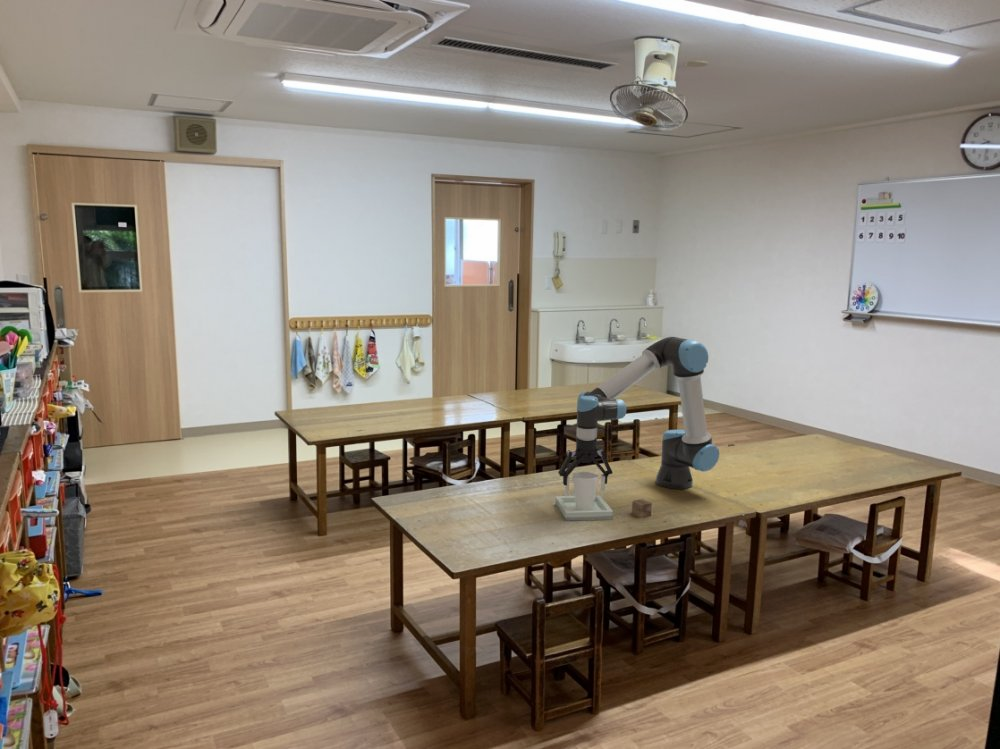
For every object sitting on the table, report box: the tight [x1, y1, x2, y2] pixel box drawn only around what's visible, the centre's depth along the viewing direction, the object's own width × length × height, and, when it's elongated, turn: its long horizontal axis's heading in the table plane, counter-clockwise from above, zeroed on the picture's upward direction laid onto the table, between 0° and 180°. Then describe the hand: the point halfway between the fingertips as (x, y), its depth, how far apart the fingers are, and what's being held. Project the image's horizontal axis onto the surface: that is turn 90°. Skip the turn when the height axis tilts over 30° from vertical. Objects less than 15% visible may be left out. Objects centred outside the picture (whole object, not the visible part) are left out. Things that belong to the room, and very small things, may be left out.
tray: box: [554, 494, 614, 522], centre depth 279 cm, size 18×18×3 cm
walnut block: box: [631, 498, 653, 519], centre depth 277 cm, size 5×5×5 cm
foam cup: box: [572, 470, 599, 511], centre depth 278 cm, size 10×9×13 cm
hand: (584, 492), depth 278 cm, fingers open, 13 cm apart
